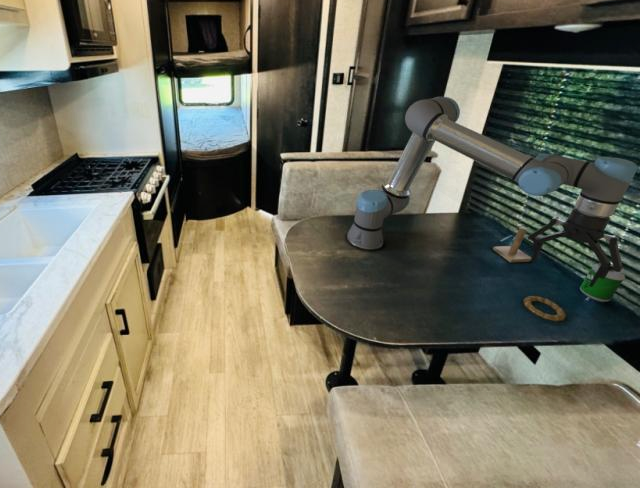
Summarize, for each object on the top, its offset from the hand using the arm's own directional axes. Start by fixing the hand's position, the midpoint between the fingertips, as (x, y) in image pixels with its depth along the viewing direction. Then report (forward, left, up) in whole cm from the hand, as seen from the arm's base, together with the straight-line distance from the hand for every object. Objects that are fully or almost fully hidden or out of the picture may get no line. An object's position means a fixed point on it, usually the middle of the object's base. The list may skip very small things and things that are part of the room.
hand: (560, 272), depth 97 cm
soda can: (-6, +26, -17) cm, 31 cm away
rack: (-30, +17, -17) cm, 38 cm away
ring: (-1, +2, -16) cm, 16 cm away
